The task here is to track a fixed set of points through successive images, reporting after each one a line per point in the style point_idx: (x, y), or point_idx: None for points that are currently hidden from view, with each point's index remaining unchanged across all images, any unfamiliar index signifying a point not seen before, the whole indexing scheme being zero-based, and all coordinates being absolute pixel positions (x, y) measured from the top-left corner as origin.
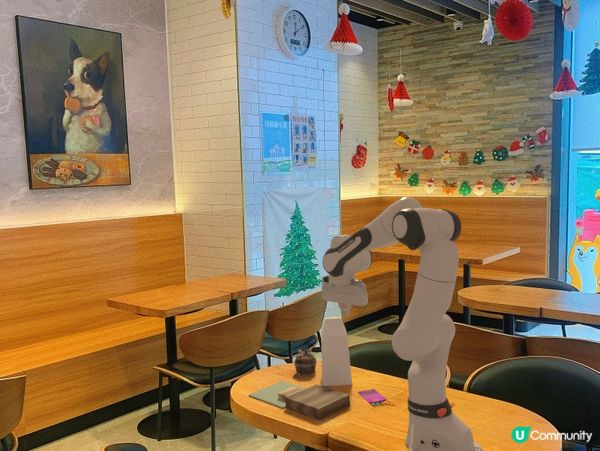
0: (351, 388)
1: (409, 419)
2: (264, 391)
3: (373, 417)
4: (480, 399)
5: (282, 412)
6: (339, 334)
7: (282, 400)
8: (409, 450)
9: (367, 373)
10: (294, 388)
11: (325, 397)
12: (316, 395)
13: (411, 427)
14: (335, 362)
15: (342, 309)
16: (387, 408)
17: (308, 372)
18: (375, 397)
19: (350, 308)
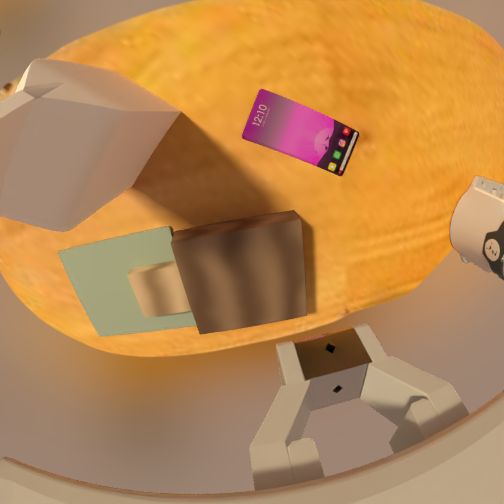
0: (203, 131)
1: (482, 261)
2: (97, 310)
3: (374, 215)
4: (450, 21)
5: None
6: (81, 143)
7: None
8: (463, 261)
9: (143, 28)
10: (140, 279)
11: (268, 274)
12: (240, 283)
13: (484, 270)
14: (131, 159)
15: (309, 413)
16: (369, 160)
17: None
18: (307, 131)
19: (414, 371)
